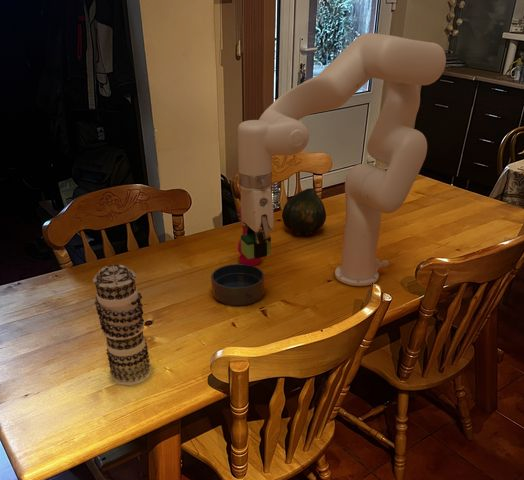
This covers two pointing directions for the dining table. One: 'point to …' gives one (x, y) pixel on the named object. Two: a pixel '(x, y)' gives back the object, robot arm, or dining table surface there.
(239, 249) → the pepper mill
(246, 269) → the bowl
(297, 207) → the squash
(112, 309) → the decorative candle
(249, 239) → the sponge
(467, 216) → the dining table surface
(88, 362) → the dining table surface
